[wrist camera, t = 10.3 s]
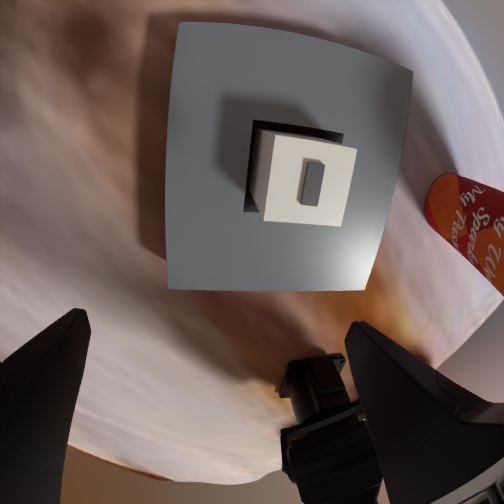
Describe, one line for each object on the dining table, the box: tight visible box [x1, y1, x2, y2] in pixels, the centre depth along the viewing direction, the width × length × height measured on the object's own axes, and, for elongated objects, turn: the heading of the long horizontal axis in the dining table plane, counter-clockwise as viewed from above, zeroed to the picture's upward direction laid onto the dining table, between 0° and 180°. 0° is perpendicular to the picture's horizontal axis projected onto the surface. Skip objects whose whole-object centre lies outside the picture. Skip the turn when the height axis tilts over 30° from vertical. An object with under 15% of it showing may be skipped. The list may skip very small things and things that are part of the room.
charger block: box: [248, 128, 357, 227], centre depth 15 cm, size 4×4×6 cm
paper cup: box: [425, 173, 504, 296], centre depth 15 cm, size 8×8×14 cm
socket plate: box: [165, 22, 413, 291], centre depth 16 cm, size 16×14×3 cm
